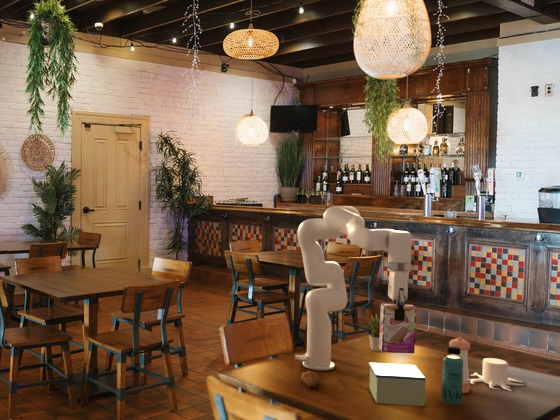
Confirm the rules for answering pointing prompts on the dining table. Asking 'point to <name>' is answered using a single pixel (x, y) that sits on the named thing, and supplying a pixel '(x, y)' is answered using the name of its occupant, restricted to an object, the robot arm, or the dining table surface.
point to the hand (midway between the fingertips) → (397, 318)
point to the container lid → (396, 371)
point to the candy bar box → (397, 330)
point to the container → (397, 390)
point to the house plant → (374, 333)
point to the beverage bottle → (452, 377)
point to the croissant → (310, 379)
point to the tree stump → (494, 374)
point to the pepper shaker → (464, 349)
